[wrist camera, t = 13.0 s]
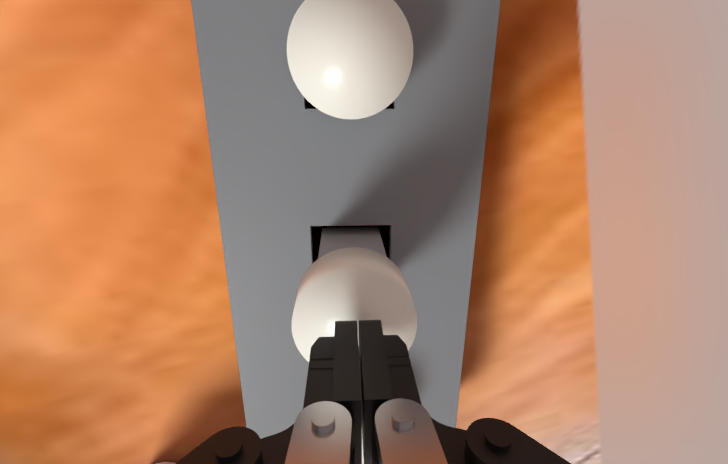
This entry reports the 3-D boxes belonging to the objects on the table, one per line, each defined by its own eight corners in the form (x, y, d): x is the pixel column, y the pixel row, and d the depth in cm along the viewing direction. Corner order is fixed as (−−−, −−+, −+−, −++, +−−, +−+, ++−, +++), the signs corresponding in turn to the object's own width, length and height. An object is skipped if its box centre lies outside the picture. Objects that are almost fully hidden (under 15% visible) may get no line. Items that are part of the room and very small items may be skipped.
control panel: (220, -47, 18) (178, -96, 14) (468, -41, 19) (509, -87, 14) (268, 413, 28) (253, 479, 23) (432, 407, 28) (451, 469, 24)
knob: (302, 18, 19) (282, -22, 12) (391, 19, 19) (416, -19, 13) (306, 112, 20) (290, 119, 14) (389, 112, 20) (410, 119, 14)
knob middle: (305, 212, 19) (287, 271, 13) (394, 211, 19) (420, 268, 13) (309, 292, 20) (295, 380, 14) (392, 290, 21) (414, 376, 14)
